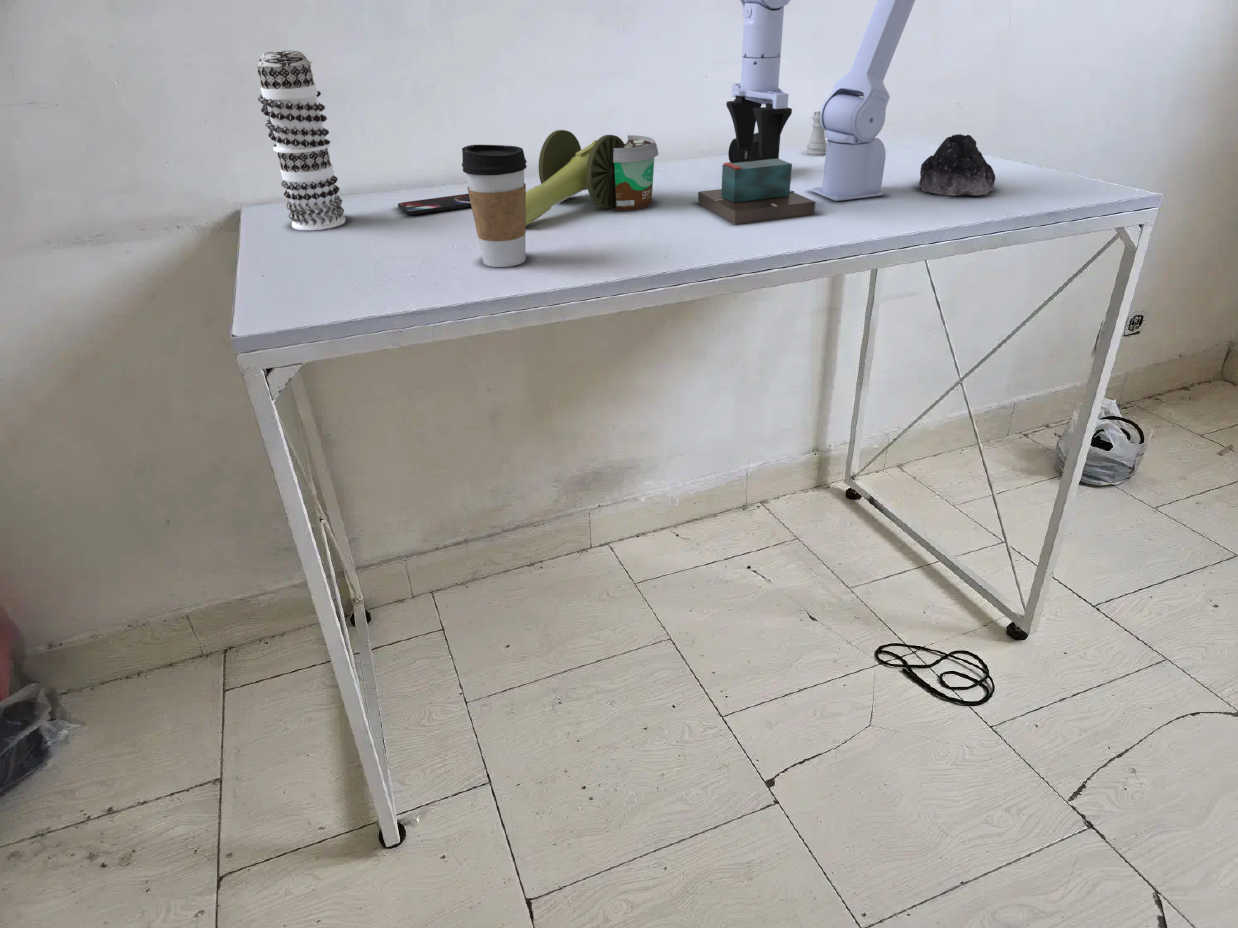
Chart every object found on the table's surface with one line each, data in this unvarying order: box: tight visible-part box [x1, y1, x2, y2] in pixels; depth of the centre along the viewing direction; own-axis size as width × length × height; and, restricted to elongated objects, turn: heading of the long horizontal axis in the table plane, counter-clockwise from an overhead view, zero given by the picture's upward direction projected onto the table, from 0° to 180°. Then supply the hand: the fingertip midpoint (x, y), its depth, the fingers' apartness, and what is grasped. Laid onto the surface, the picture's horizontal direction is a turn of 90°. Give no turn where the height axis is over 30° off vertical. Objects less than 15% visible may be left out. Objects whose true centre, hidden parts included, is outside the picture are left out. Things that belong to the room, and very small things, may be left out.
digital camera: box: [727, 132, 781, 163], centre depth 151 cm, size 10×5×7 cm, turn 144°
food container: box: [613, 134, 659, 212], centre depth 134 cm, size 12×6×10 cm, turn 168°
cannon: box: [526, 129, 625, 227], centre depth 131 cm, size 25×12×11 cm, turn 144°
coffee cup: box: [461, 144, 528, 268], centre depth 108 cm, size 8×8×15 cm
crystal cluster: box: [918, 133, 997, 197], centre depth 137 cm, size 13×14×10 cm
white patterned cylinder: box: [254, 50, 346, 231], centre depth 125 cm, size 9×9×25 cm
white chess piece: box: [805, 110, 827, 156], centre depth 166 cm, size 4×4×8 cm
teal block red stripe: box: [721, 158, 793, 203], centre depth 129 cm, size 10×5×5 cm, turn 109°
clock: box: [697, 188, 816, 225], centre depth 131 cm, size 14×14×2 cm
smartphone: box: [397, 193, 472, 216], centre depth 138 cm, size 7×1×15 cm
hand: (755, 152), depth 127 cm, fingers open, 7 cm apart
